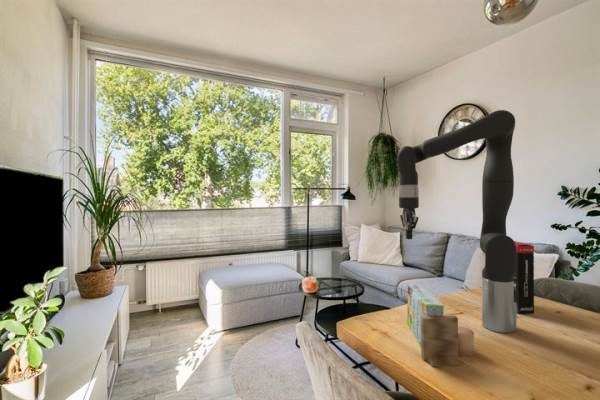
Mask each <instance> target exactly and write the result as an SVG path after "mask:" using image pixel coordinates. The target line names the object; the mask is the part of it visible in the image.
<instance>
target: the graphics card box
mask: <svg viewBox="0 0 600 400" xmlns="http://www.w3.org/2000/svg"><path fill="white" fill-rule="evenodd" d="M514 242H515V244H516V249H517V260H516V272H515V275H514V302H516V304H517V315H518V314H520V315H521V314H523V315H524V314H525V315H526V314H528V315H529V314H535V247H534V245H532V244H527V243H524V242H519V241H515V240H514Z"/></svg>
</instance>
